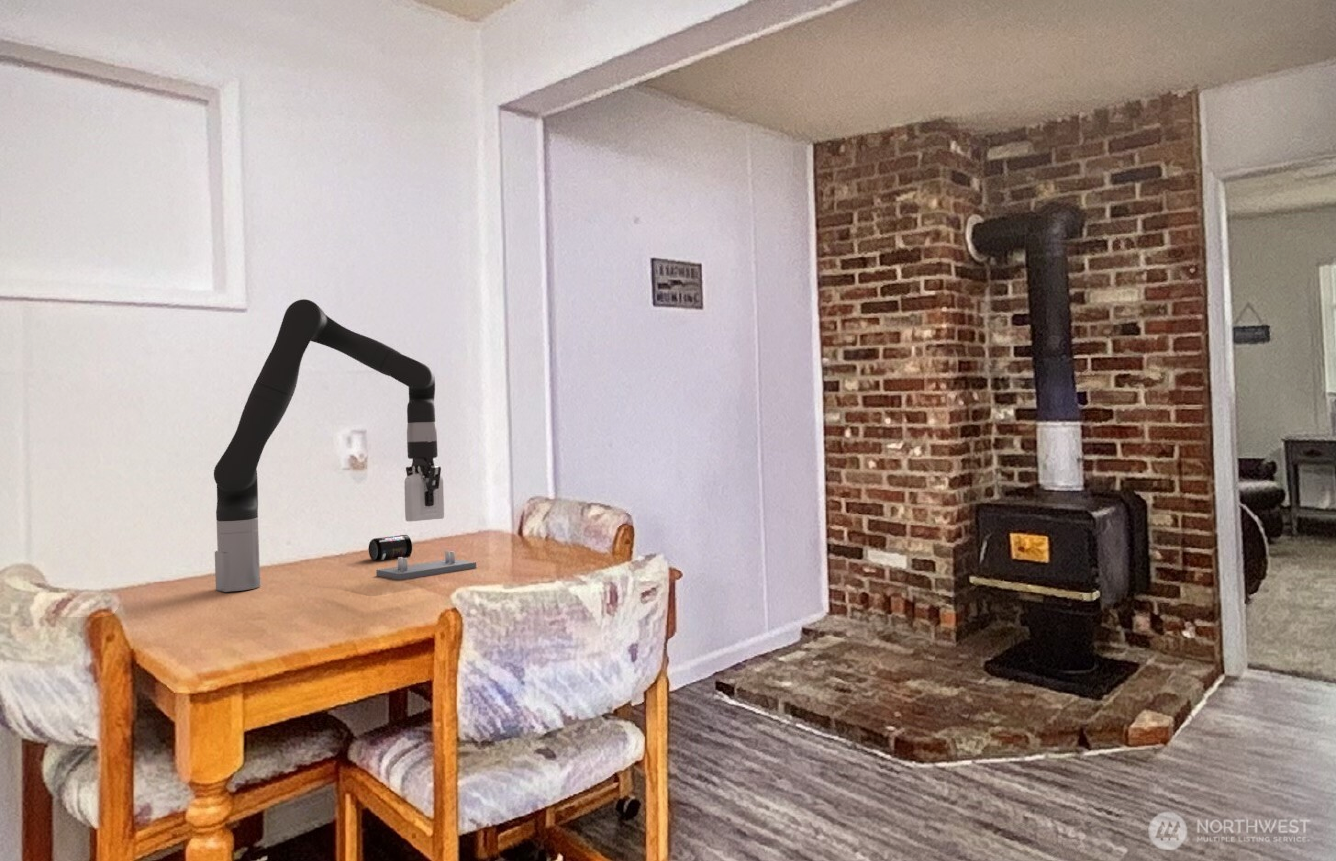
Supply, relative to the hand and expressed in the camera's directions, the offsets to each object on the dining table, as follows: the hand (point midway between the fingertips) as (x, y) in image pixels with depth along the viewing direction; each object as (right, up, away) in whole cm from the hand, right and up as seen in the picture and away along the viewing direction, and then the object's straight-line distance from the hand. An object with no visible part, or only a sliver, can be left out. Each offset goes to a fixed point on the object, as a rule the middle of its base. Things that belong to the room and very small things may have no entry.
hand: (424, 505), depth 226 cm
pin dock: (+1, -17, 0) cm, 17 cm away
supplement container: (-19, -16, +20) cm, 32 cm away
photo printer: (0, -4, 0) cm, 4 cm away
